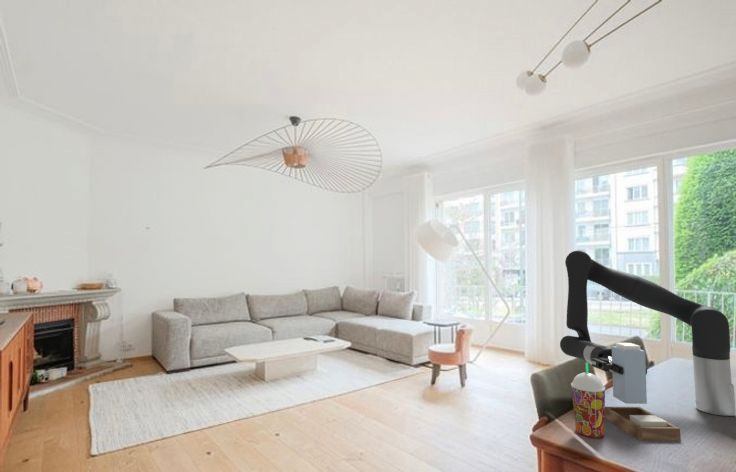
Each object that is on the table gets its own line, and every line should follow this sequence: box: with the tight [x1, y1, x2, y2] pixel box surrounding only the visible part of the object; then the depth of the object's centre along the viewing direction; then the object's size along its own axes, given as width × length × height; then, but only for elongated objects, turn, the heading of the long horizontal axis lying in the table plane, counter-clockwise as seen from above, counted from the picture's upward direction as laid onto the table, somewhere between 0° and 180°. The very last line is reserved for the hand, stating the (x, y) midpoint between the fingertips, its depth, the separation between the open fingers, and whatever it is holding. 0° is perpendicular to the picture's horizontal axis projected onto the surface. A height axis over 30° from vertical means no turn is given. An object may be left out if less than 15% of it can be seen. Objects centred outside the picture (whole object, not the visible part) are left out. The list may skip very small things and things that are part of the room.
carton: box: [611, 342, 648, 405], centre depth 116 cm, size 6×6×16 cm
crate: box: [604, 406, 682, 441], centre depth 112 cm, size 16×11×4 cm
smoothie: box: [570, 362, 606, 439], centre depth 109 cm, size 8×8×20 cm
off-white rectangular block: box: [630, 414, 668, 427], centre depth 108 cm, size 4×7×4 cm, turn 89°
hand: (633, 371), depth 114 cm, fingers closed on carton, 6 cm apart
